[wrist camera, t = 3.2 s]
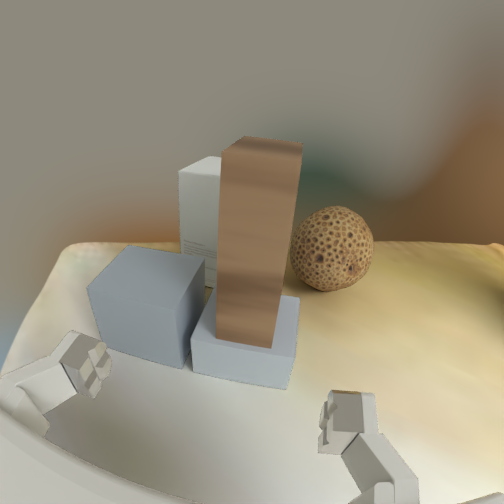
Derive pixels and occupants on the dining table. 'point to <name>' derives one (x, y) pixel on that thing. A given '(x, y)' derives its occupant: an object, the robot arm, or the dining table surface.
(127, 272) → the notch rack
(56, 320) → the dining table surface
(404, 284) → the dining table surface
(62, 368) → the robot arm
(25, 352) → the dining table surface
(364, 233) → the natural sponge
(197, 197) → the supplement box
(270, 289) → the frame block
